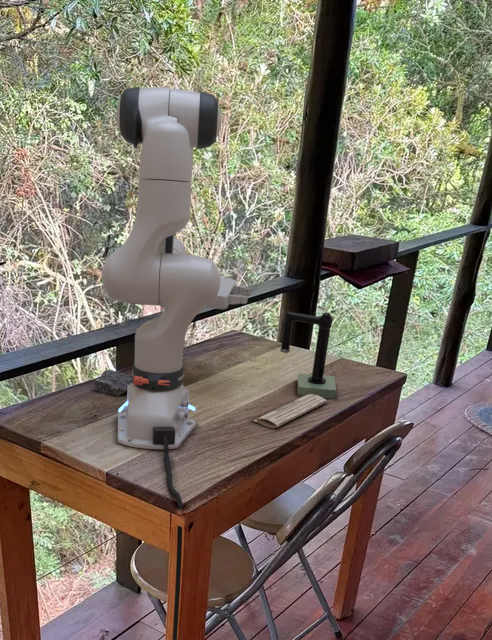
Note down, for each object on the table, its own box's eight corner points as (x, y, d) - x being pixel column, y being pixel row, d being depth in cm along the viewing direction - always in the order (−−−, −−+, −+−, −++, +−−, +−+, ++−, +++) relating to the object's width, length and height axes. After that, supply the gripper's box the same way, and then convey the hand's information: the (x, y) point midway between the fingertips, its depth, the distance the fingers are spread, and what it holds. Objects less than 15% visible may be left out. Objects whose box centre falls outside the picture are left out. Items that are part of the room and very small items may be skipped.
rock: (123, 398, 193) (123, 383, 191) (91, 390, 197) (91, 374, 195) (139, 390, 198) (140, 375, 196) (108, 382, 203) (108, 367, 200)
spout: (328, 357, 201) (335, 312, 195) (324, 360, 198) (331, 315, 192) (282, 349, 206) (288, 304, 199) (278, 352, 203) (283, 307, 197)
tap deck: (334, 398, 200) (336, 390, 199) (297, 395, 201) (298, 386, 199) (332, 384, 209) (334, 376, 208) (297, 381, 210) (298, 373, 209)
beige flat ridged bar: (276, 429, 180) (277, 422, 179) (252, 421, 184) (253, 414, 183) (326, 404, 196) (327, 398, 195) (302, 397, 200) (303, 391, 199)
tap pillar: (325, 385, 201) (334, 330, 194) (308, 383, 202) (315, 329, 194) (325, 379, 205) (333, 325, 198) (307, 377, 206) (315, 324, 198)
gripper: (191, 287, 189) (246, 292, 187) (204, 271, 206) (253, 276, 205) (190, 312, 192) (243, 317, 190) (202, 295, 210) (251, 299, 208)
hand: (249, 296), depth 198 cm, fingers open, 8 cm apart
